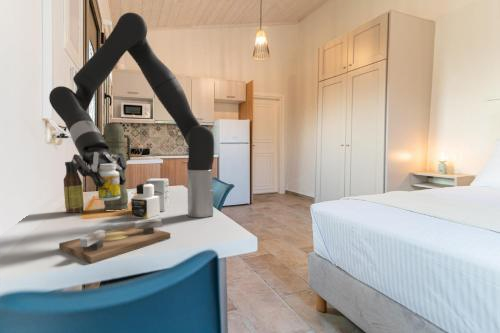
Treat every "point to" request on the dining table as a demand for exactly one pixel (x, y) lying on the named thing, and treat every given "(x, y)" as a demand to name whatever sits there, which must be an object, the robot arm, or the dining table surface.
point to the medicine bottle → (145, 202)
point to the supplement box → (161, 191)
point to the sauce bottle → (73, 190)
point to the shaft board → (115, 241)
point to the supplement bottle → (109, 183)
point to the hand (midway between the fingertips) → (112, 184)
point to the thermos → (116, 145)
